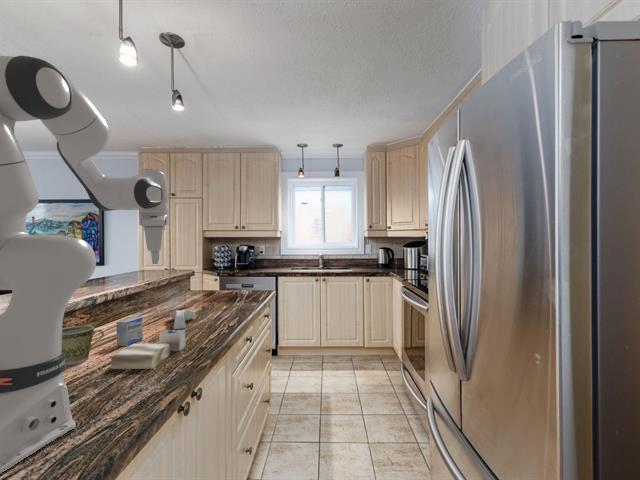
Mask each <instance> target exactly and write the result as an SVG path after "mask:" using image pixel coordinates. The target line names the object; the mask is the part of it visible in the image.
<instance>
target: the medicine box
mask: <svg viewBox="0 0 640 480" xmlns="http://www.w3.org/2000/svg"><path fill="white" fill-rule="evenodd" d="M143 321H144V320H143V317H140V316H133V317H130V318H127V319H124V320H123V319H122V320H120V321H117V322H116V324H115V326H116V327H115V328H116V346H118V347H119V346H120V347H129V346H131V345H132V344H137V343H138V342H140V341H142V340H144V338H143V337H144V334H143V331H144V330H143V327H144V326H143Z"/></svg>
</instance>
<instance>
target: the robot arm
mask: <svg viewBox="0 0 640 480" xmlns="http://www.w3.org/2000/svg"><path fill="white" fill-rule="evenodd" d="M36 120H40V121H41V123H42V124H43V125H44V126H45V127H46V129H48V131H49V132H50V133H51V134H52V135H53V136H54V138H55V139H56V141H57V142H56V149H57V151H58V154H59V155H60V157H61V159H62V161H63V162H64V163H65V164H66V166H67V167H68V169H69V170H70V171H71V172H72V174H73V175H74V176H75V177H76V179H77V180H78V182H79V183H80V184H81V186H82V187H83V188H84V190H85V191H86V193H87V195H88V197H89V200H90V202H91V203H92V204H93V205H94V207H96V208H97V209H98V210H100V211H103V212H107V211H109V212H110V211H133V210H136V211H138V225H139V226H141V227H143V231H144V237H145V243H146V248H147V251H149V252H150V255H151V264H153V265H158V264H159V259H160V251H161V249H162V245H163V244H162V243H163V235H164V234H163V233H164V231H166V226H169V225H170V210H169V207H168V201H169V187H168V181H167V177H166V174H165V173H164V172H162V171H161V170H158V169H152V168H143V169H142V168H141V169H140V170H139V172H138V174H137V175H135V176H132V177H112V176H107V175H105V174H103V173H102V171H100V169H99V167H98V166H97V164H96V163H95V161H94V160H93V158H92V157H94V156H96V155H98V154H99V153H100V152H102V151H103V150H104V149H105V148H106V146H107V144H108V143H109V141H110V137H111V135H110V134H111V133H110V132H111V131H110V128H109V126H108V123H107V121H106V120H105V118H104V117H103V115H102V114H101V113H100V111H99V110H98V108H96V106H95V105H94V103H93V102H92V101H91V99H90V98H88V96H87V95H86V94H85V93H84V92H83V90H81V88H79V86H78V85H77V84H76V83H74V81H73V80H72V79H70V78H69V76H68V75H67V74H65V73H63V72H62V71H60V70H59V69H58V68H57V67H56V66H54V65H53V64H52V63H50V62H48V61H47V60H45V59H41V58H38V57H35V56H34V57H33V56H28V55H17V56H12V55H11V56H10V55H9V56H8V55H0V291H12V292H11V298H10V301H9V304H8V305H7V308H5V310H4V312H2V313H1V314H0V474H1V473H2V472H4V471H6V470H7V469H9V468H11V467H12V466H14V465H15V464H17V463H18V462H20V461H21V460H23V459H24V458H26V457H28V456H29V455H30V454H32V453H34V452H35V451H37V450H38V449H40V448H41V447H43V446H45V445H46V444H48V443H50V442H51V441H53V440H54V439H56V438H57V437H59V436H61V435H63V434H65V433H67V432H68V431H70V430H72V429H74V428H75V427H76V428H77V426H76V421H75V420H74V419H73V416H72V413H71V406H70V404H71V403H70V396H69V391H68V386H67V384H66V382H65V379H64V375H63V374H64V373H63V372H64V370H65V368H66V366H65V359H64V352H62V329H63V324H64V323H63V322H64V316H65V311H66V308H67V306H68V304H69V302H70V300H71V298H72V296H73V295H74V294H75V292H76V291H77V290H78V289H79V288H80V287H81V286H82V285H84V284H85V283H87V282H88V281H89V280H90V279H91V277H92V276H93V274H94V272H95V270H96V266H97V256H96V252H95V251H94V249H93V247H92V245H90V243H88V241H86V240H84V239H81V238H77V237H73V236H67V235H62V234H30V233H29V232H28V230H27V222H26V221H27V220H26V219H27V215H28V214H29V213H31V212H32V211H33V210H34V209H36V207H37V206H38V204H39V202H40V197H39V196H40V195H39V193H38V190H37V188H36V185H35V182H34V180H33V177H32V174H31V172H30V171H31V170H30V169H29V166H28V163H27V160H26V157H25V155H24V153H23V150H22V148H21V146H20V144H19V141H18V139H17V138H16V135H15V125H16V122H29V121H36ZM76 428H75V429H76ZM75 429H74V430H75ZM72 431H73V430H72ZM67 434H68V433H67ZM28 458H29V457H28ZM20 463H21V462H20ZM17 465H18V464H17ZM15 466H16V465H15ZM15 466H14V467H15ZM12 468H13V467H12ZM12 468H11V469H12ZM9 470H10V469H9ZM7 471H8V470H7ZM7 471H6V472H7ZM4 473H5V472H4ZM2 474H3V473H2ZM2 474H1V475H2Z"/></svg>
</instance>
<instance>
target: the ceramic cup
mask: <svg viewBox="0 0 640 480" xmlns="http://www.w3.org/2000/svg"><path fill="white" fill-rule="evenodd" d="M96 333H101V337H99V338H98V339H96V340H95V341H94V342H93V343H92V340H93V337H94V335H95V334H96ZM104 336H105V334H104V331H103V330H101V329H97V330H95V326H93V325H76V326H69V327H64V328H62V352H64V359H65V367H66V366H74V365H79V364H82V363H85V362H87V361H88V359H89V357H90V352H91V351H90V350H91V348H92V347H93V346H95V344H97V342H99V341H100V340H101V339H102V338H104Z"/></svg>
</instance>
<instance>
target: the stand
mask: <svg viewBox="0 0 640 480" xmlns="http://www.w3.org/2000/svg"><path fill="white" fill-rule="evenodd" d="M170 352H171V351H169V344H159V343H133V344H131V345H129V346H126V348H124V349H122V350H120V351H118V352H117V353H114V354H113V355H111V357H110V361H111V363H110V365H111V366H110V369H111V370H133V369H135V370H138V369H140V370H142V369H144V370H149V369H150V370H151V369H154V368H155V367H156V366H157V365H158V364H160V363H162V362H163V361H164V360H165V359H166V358H168V357H169V356H170V354H171V353H170Z"/></svg>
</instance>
